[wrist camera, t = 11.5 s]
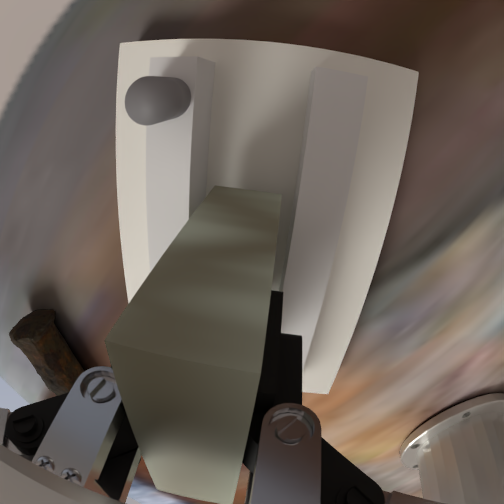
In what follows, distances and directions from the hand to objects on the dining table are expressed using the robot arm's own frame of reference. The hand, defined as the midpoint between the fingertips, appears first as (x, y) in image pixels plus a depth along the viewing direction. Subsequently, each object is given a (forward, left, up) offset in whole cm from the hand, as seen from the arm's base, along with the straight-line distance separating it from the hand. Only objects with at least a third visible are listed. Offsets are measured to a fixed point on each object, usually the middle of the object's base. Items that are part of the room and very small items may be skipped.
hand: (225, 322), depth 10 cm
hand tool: (+12, +16, -7) cm, 21 cm away
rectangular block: (0, 0, -3) cm, 3 cm away
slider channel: (0, 0, -6) cm, 6 cm away
